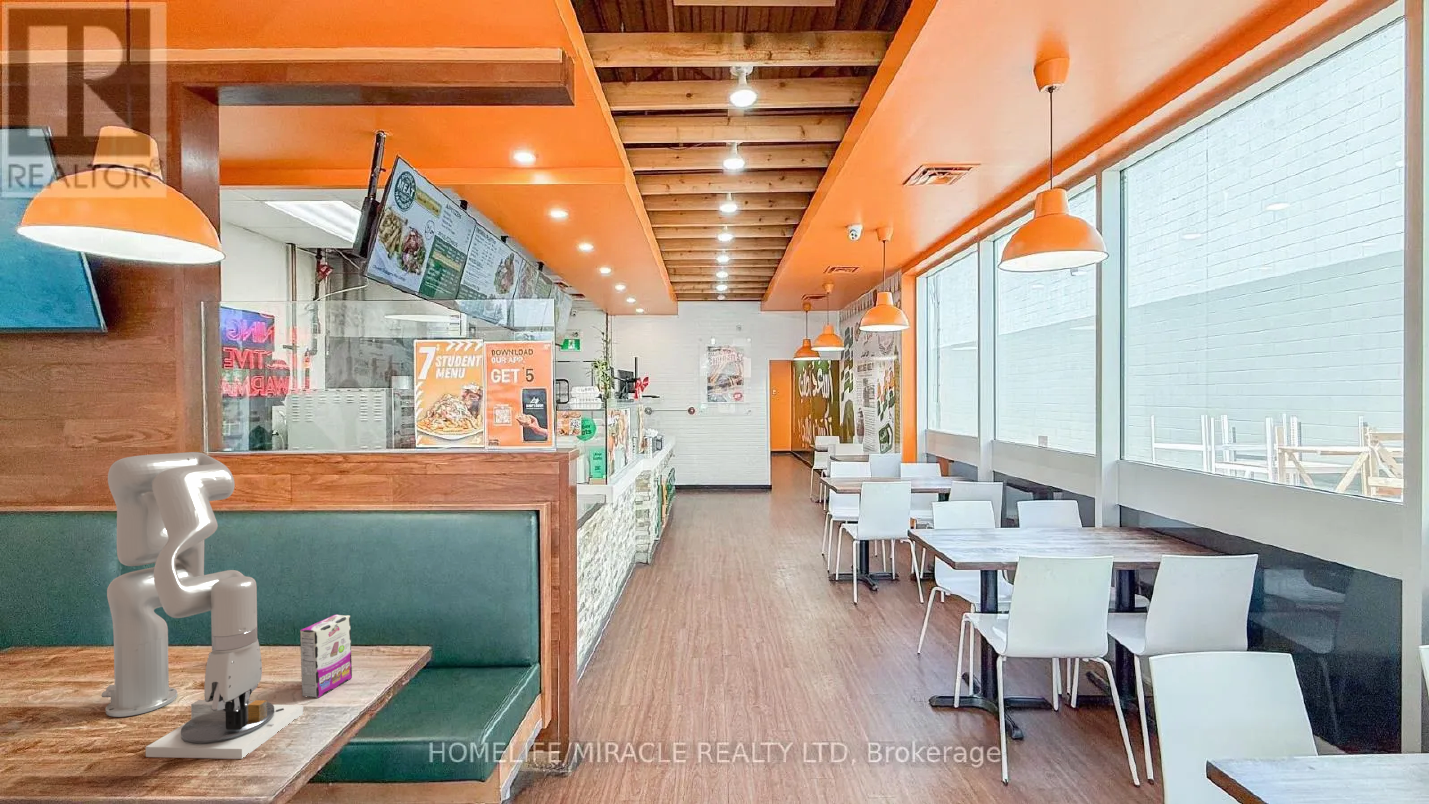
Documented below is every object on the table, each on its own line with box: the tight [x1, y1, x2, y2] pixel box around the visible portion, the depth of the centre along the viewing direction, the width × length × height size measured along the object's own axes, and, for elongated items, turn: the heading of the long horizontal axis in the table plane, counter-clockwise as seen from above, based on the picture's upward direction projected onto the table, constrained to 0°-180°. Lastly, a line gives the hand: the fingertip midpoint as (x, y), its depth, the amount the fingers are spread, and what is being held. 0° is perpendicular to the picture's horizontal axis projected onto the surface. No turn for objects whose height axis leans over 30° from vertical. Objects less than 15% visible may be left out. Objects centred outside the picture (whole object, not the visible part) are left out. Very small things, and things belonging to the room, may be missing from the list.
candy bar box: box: [299, 614, 353, 699], centre depth 159 cm, size 11×5×16 cm, turn 168°
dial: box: [181, 699, 274, 744], centre depth 138 cm, size 16×16×5 cm
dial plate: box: [145, 704, 304, 760], centre depth 138 cm, size 20×18×2 cm
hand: (236, 727), depth 132 cm, fingers closed
